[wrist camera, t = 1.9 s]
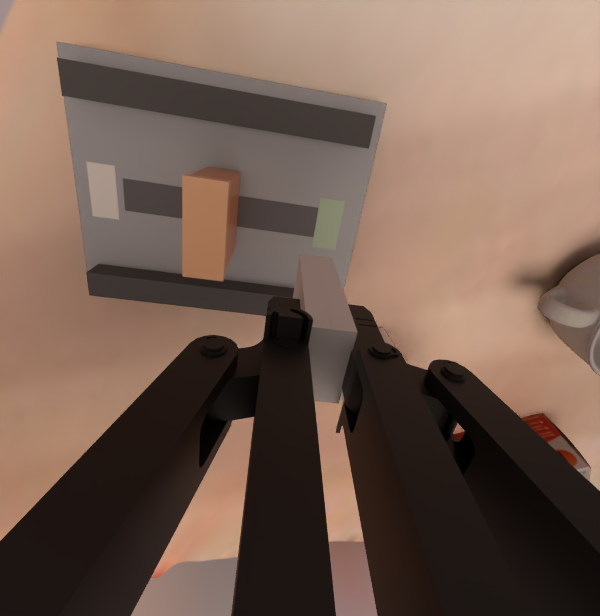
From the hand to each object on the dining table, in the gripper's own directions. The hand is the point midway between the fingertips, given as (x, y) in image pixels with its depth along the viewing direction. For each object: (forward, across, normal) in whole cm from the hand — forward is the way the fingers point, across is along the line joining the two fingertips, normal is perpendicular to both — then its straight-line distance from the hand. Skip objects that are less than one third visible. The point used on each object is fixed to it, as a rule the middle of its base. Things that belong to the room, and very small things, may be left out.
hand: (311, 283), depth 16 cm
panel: (+15, -6, 0) cm, 16 cm away
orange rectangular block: (+13, -6, 0) cm, 14 cm away
